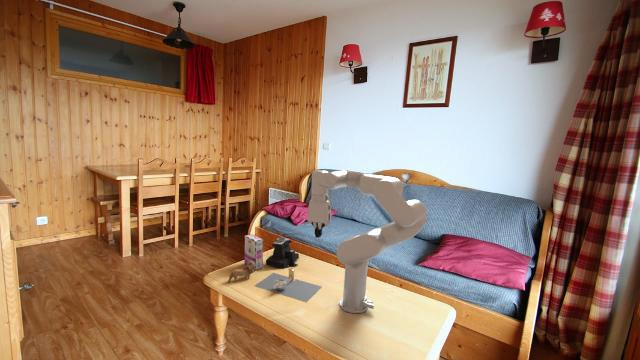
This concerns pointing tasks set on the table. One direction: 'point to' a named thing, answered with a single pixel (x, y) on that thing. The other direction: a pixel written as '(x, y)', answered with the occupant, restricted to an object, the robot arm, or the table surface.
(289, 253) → the camera
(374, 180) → the robot arm
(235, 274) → the lion figurine
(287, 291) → the base plate
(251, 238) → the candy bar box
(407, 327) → the table surface
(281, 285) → the crank handle
